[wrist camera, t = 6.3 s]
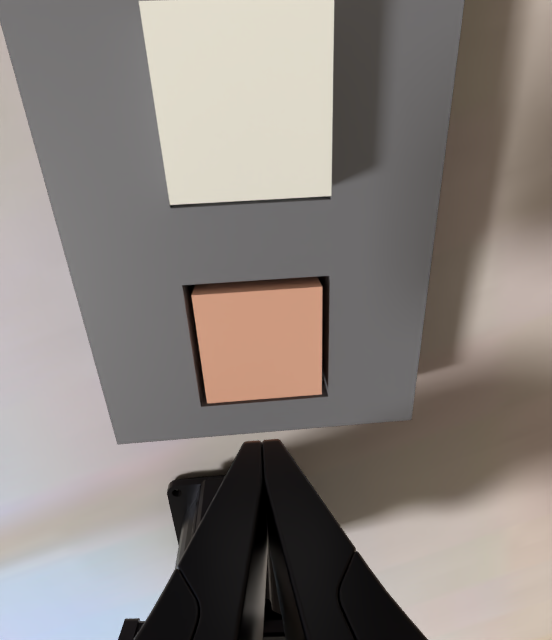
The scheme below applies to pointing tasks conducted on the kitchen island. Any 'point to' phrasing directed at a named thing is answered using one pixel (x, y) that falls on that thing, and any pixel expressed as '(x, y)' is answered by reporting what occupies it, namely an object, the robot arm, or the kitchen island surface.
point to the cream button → (242, 97)
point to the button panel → (241, 214)
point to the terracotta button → (260, 338)
